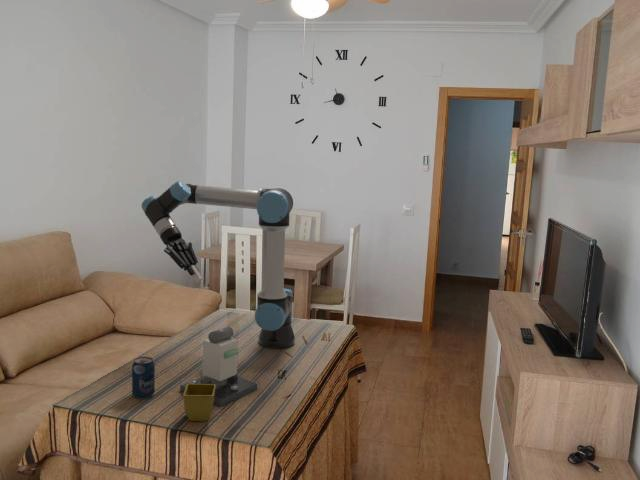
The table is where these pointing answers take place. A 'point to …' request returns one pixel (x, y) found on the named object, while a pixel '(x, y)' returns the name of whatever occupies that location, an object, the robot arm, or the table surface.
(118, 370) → the table surface
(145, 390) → the soda can
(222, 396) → the levelling base
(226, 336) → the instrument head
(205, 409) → the flower pot
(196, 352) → the table surface
